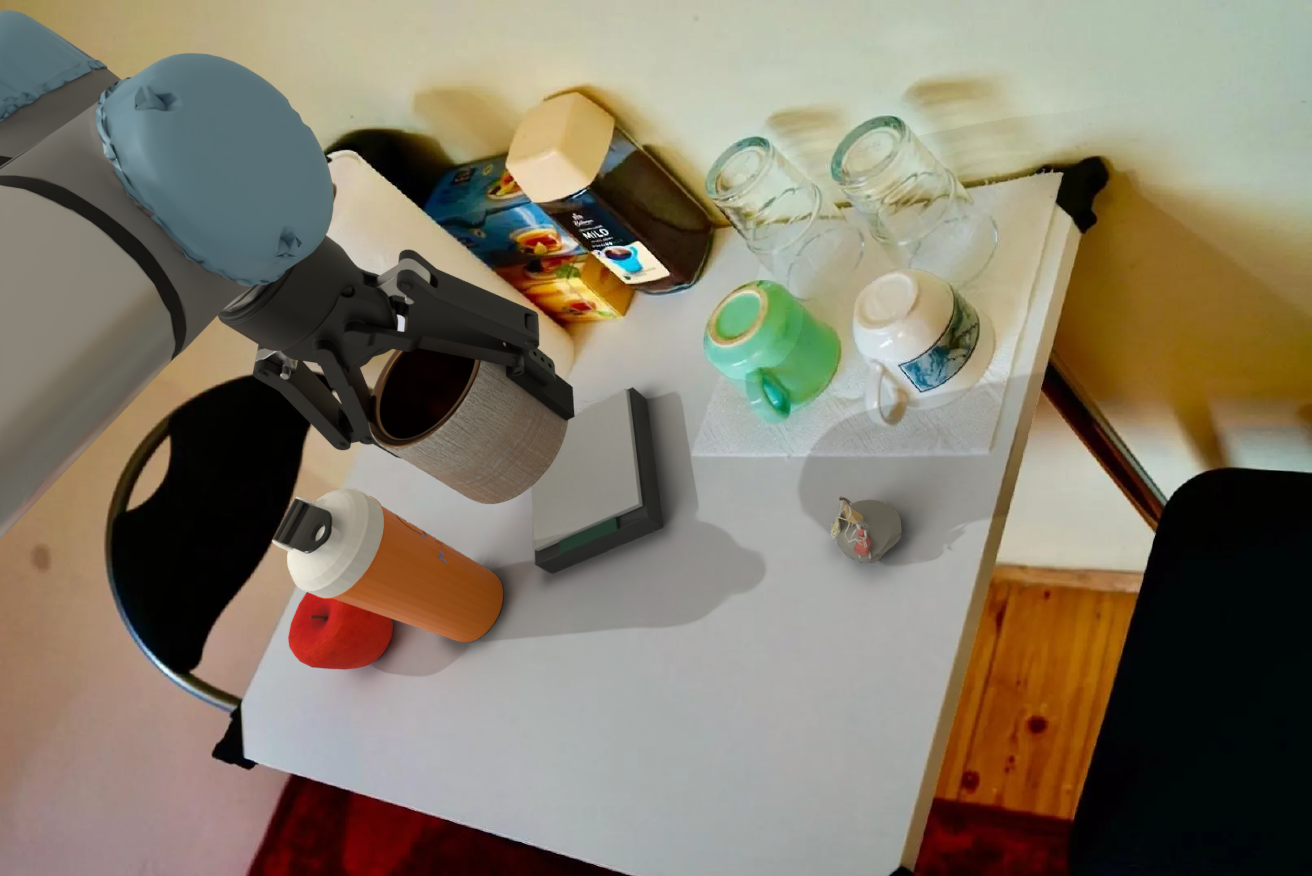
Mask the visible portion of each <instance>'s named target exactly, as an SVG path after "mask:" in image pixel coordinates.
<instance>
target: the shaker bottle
mask: <svg viewBox="0 0 1312 876" xmlns="http://www.w3.org/2000/svg"><path fill="white" fill-rule="evenodd" d="M271 542H272V543H273V544H274V546H276V547H278V548H280V549H282V550H284V551H286V552H287V555H286V561H287V562H286V563H287V569H288V572H289V574H290V577H291V579H292V581H293V583H294V584H295V586H296V587H298V588H299V589H300V590H302V591H303V592H305V593H306V592H309V593H311V594H314V595H316V596H317V597H320V598H324V599H328V598H332V599H335V600H338V601H341V602H344V603H347V604H350V605H353V606H356V607H359V608H362V609H365V610H368V611H371V612H373V613H376V614H379V615H382V616H385V617H388V618H391V620H394V621H396V622H400V623H402V624H406V625H408V626H412V627H413V628H414V627H415V628H417V629H420V630H423V631H425V632H429V633H432V634H435V635H438V636H441V637H443V638H446V639H449V640H452V641H456V642H459V643H471V642H474V641H477V640H478V639H480V638H482V637H483V636H484V635H486V634H487V632H489V631H490V630H491V628H492V627H493V625H494V624H495V622H496V620H497V619H498V617H499V615H500V613H501V609H502V606H503V602H504V588H503V583H502V581H501V579H500V578H499V576H498V575H497V573H495V572H493V571H492V570H490V569H488V568H487V567H485V566H483V565H482V564H480V563H478V562H477V561H475V560H473V559H472V558H470V557H468V556H467V555H465V554H464V553H462V552H460V551H458V550H456V548H453V546H450V545H448V544H446V543H445V542H444V541H441V540H440V539H438V538H436V537H435V536H433V535H431V534H429V533H428V532H427V531H425V530H423V529H421V528H420V527H418V526H417V525H414V524H413V523H411V522H409V521H407V520H406V519H405V518H403V517H401V516H400V515H398V514H396V513H394V512H393V511H391V510H389V508H386V507H384V506H382V504H381V502H380V501H379V500H378V499H377V498H375V497H373V496H372V495H368V494H366V493H364V492H363V491H361V490H358V489H357V488H353V487H345V488H339V489H335V490H331V491H329V492H327V493H325V494H323V495H322V496H319V498H317V499H316V500H315V501H313V500H312V499H309V498H307V497H304V496H299V495H298V496H295V498H294V499H293V501H292V503H291V505H290V506H289V509H288V510H287V512H286V514H285V516H284V517H283V519H282V521H281V522H280V524H279V527H278V528H277V530H276V532H275V533H274V536H273V538H272V540H271Z"/></svg>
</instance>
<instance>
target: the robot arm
mask: <svg viewBox="0 0 1312 876" xmlns="http://www.w3.org/2000/svg"><path fill="white" fill-rule="evenodd" d="M334 193H335V192H334V184H333V179H332V174H331V170H330V167H329V163H328V160H327V157H326V155H325V153H324V151H323V148H322V146H321V144H320V142H319V140H318V138H317V137H316V135H315V133H314V132H313V130H312V128H311V127H310V126H309V125H307V124H306V123H304V121H303V120H302V117H301V115H300V113H299V112H297V110H295V108H293V107H292V105H291V103H290V102H289V99H288V98H287V97H286V96H285V95H284V94H283V93H282V92H281V91H280V90H279V89H277V88H276V87H275V86H274V85H273V84H272V83H271V82H269V81H268V80H266V79H265V78H264V77H262V76H261V75H259V74H257V73H256V72H254V71H253V70H251V69H250V68H248V67H247V66H244V65H242V64H240V63H238V62H236V61H234V60H230V59H227V58H225V57H222V56H218V55H213V54H209V53H195V52H185V53H175V54H172V55H169V56H166V57H163V58H161V59H159V60H157V61H155V62H153V63H152V64H150V65H149V66H147V67H145V68H144V69H142V70H141V71H139V72H138V73H136V74H135V75H132V76H128V77H125V78H120V77H119V76H118V75H116V74H115V73H114V72H112V71H111V70H109V68H108V66H107V64H105V63H104V62H102V61H101V60H99V59H96V58H94V57H92V56H91V55H89V54H88V53H87V52H85V51H84V50H82V49H81V48H79V47H78V46H76V45H74V44H73V43H72V42H70V41H69V40H67V39H65V38H64V37H63V36H62V35H60V34H58V33H57V32H56V31H54V30H52V29H51V28H49V27H48V26H46V25H44V24H42V23H41V22H40V21H38V20H36V19H35V18H33V17H32V16H29V15H27V14H26V13H25V12H21V11H18V10H11V9H3V10H0V540H1V539H2V538H4V536H5V535H6V534H8V532H9V531H10V530H11V529H12V528H13V527H14V526H15V525H16V524H17V523H18V522H19V521H20V520H21V519H22V518H23V517H24V515H25V514H26V513H28V511H29V510H31V508H32V507H33V506H34V505H35V504H36V503H37V502H38V501H39V500H40V499H41V498H42V497H43V496H44V495H45V493H47V492H48V491H49V489H50V488H52V487H53V486H54V485H55V483H56V482H57V481H58V480H59V479H61V477H62V476H63V475H64V474H65V473H66V472H67V471H68V470H69V469H70V468H71V467H72V465H73V464H75V462H76V461H77V460H78V459H80V457H81V456H83V454H84V453H85V452H86V451H87V450H88V449H89V447H91V446H92V445H93V444H94V443H95V441H96V440H97V439H98V438H99V437H100V436H102V434H103V433H104V432H105V431H107V429H108V428H109V427H110V426H111V425H112V424H113V423H114V422H115V421H116V419H117V418H118V417H119V416H120V415H121V414H122V413H123V412H124V411H125V410H126V409H127V408H128V407H129V406H130V405H131V404H132V403H133V402H134V401H135V399H136V398H137V397H138V396H140V395H141V393H142V392H143V391H144V390H145V389H146V388H147V387H148V386H149V385H150V384H151V383H152V382H153V381H154V380H155V379H156V378H157V377H158V376H159V374H160V373H162V372H163V370H164V369H166V368H167V366H168V365H169V364H170V363H172V361H173V360H174V359H176V358H177V357H178V356H179V355H181V354H182V353H183V352H184V351H185V350H186V349H187V348H189V346H190V345H191V344H192V343H193V342H194V341H195V340H196V338H198V337H199V336H200V335H201V333H203V332H204V330H205V329H206V328H207V327H208V326H209V325H210V324H211V323H212V322H213V321H214V320H215V319H216V318H217V317H218V320H219V322H220V323H222V324H223V325H226V327H229V328H230V329H232V330H234V331H235V332H237V333H239V334H241V335H242V336H243V337H245V338H246V339H248V340H250V341H252V342H254V343H255V344H256V345H257V350H256V355H255V360H254V365H253V370H252V376H253V377H254V378H255V379H257V380H259V381H260V382H262V383H263V384H265V385H267V386H268V387H271V388H273V389H274V390H276V391H278V392H279V393H280V394H281V395H282V396H283V397H284V398H285V399H286V400H288V402H289V404H291V405H292V407H294V408H295V409H296V410H297V411H298V412H299V413H300V414H301V415H302V416H303V417H304V418H305V420H307V422H309V423H310V424H311V426H313V428H314V429H315V430H316V431H318V433H319V434H321V436H322V437H323V438H324V439H325V440H326V441H327V442H328V443H329V444H330V445H331V446H332V447H333V448H334V449H336V450H338V451H348V450H350V448H351V447H352V444H354V443H360V444H362V445H367V446H369V445H374V446H376V447H377V448H379V449H380V450H383V451H384V452H386V453H388V454H390V455H391V456H393V457H394V458H398V459H401V460H403V459H402V458H400V457H399V456H397V455H395V454H393V453H392V452H390V451H388V450H387V449H385V448H383V447H382V446H380V445H379V444H378V443H377V442H376V441H375V440H374V438H373V436H372V434H371V432H370V428H369V410H370V401H371V396H372V393H371V391H370V389H369V386H368V383H367V380H366V379H365V377H364V373H363V372H362V369H361V368H362V367H364V366H366V365H367V364H369V362H370V361H371V360H372V359H373V358H374V357H377V356H381V355H384V354H386V353H389V352H390V351H392V350H394V351H395V350H400V351H405V352H412V351H414V350H415V349H416V348H421V349H426V350H431V351H436V352H441V353H446V354H451V355H456V356H461V357H466V358H471V359H476V360H481V361H486V362H491V363H496V364H501V365H506V376H507V377H508V378H509V379H511V380H512V381H513V382H515V383H516V384H517V385H519V386H520V387H521V388H523V389H524V390H525V391H527V392H528V393H529V394H531V395H532V396H533V397H535V398H536V399H537V400H539V401H540V402H541V403H543V404H544V405H545V406H547V407H548V408H549V409H551V410H552V411H553V412H555V413H556V414H557V415H559V416H560V417H561V418H563V419H564V420H566V421H567V420H569V419H571V418H573V417H575V415H574V414H575V400H574V387H573V386H572V385H571V384H570V383H569V382H567V381H566V380H565V379H564V378H562V377H561V376H560V375H558V374H557V373H556V364H555V362H554V360H553V359H552V358H551V357H550V356H549V355H547V354H546V353H545V352H544V351H542V350H541V349H540V348H539V346H540V320H539V313H538V312H537V311H536V310H534V309H531V308H529V307H527V306H524V305H521V304H519V303H517V302H515V301H512V300H510V299H508V298H506V297H503V296H501V295H498V294H496V293H494V292H491V291H490V290H487V289H486V288H485V289H484V288H483V287H481V286H479V285H476V284H474V283H472V282H469V281H466V280H463V279H462V278H459V277H457V276H455V275H453V274H450V273H448V272H445V271H443V270H441V269H439V268H436V267H435V266H434V265H433V264H432V263H430V261H428V260H427V258H424V257H423V256H422V255H421V254H420V253H419V252H417V251H415V250H414V249H404V250H401V251H400V252H399V254H398V262H397V265H394V266H393V267H391V268H390V269H388V270H387V271H385V272H383V273H382V274H378V273H375V272H371V271H368V270H365V269H363V268H360V267H359V266H357V264H355V263H354V261H353V260H352V259H351V257H350V256H349V255H348V253H347V252H346V251H345V249H344V248H343V247H342V246H341V245H340V244H339V243H337V242H336V241H335V240H333V239H332V238H331V237H330V236H328V235H327V234H328V232H329V230H330V227H331V223H332V220H333V213H334V204H335V194H334ZM398 316H400V317H402V318H403V319H404V326H403V327H404V328H403V331H401V330H399V317H398ZM503 342H504V343H505V346H504V344H503ZM306 363H312V364H313V363H314V364H317V366H318V367H320V369H321V370H322V373H323V375H324V377H325V379H326V381H327V383H328V386H329V387H330V389H334V391H335V393H336V395H337V397H338V398H337V397H336V396H335V395H334V394H333V392H332V391H331V390H330V389H329V388H328V387H327V386H326V385H325V384H324V382H322V381H321V380H320V378H319V377H318V376H317V375H316V374H315V373H314V372H313V371H312V369H311V368H310V367H309V366H308V365H307V364H306Z"/></svg>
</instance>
